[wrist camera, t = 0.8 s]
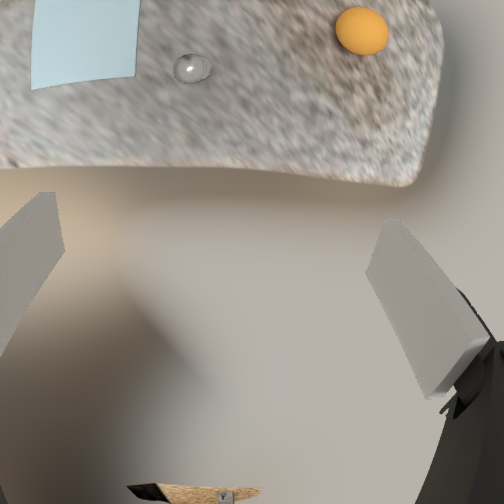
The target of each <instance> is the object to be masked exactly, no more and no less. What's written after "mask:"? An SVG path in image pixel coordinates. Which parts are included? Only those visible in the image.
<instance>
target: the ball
mask: <svg viewBox="0 0 504 504" xmlns="http://www.w3.org/2000/svg"><path fill="white" fill-rule="evenodd" d="M336 34H337V37H338V39H339V41H340V42H341V44H342V45H343V46H344V47H345V48H346V49H348V50H349V51H351V52H353V53H356V54H359V55H372V54H375V53H377V52H379V51H381V50H382V49H383V48H384V47H385V45H386V44H387V41H388V38H389V30H388V26H387V24H386V22H385V20H384V19H383V18H382V17H381V16H380V15H379V14H378V13H377V12H375V11H373V10H371V9H369V8H365V7H353V8H350V9H347V10H346V11H344V12H343V13H342V14H341V15H340V16H339V18H338V20H337V22H336Z"/></svg>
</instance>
